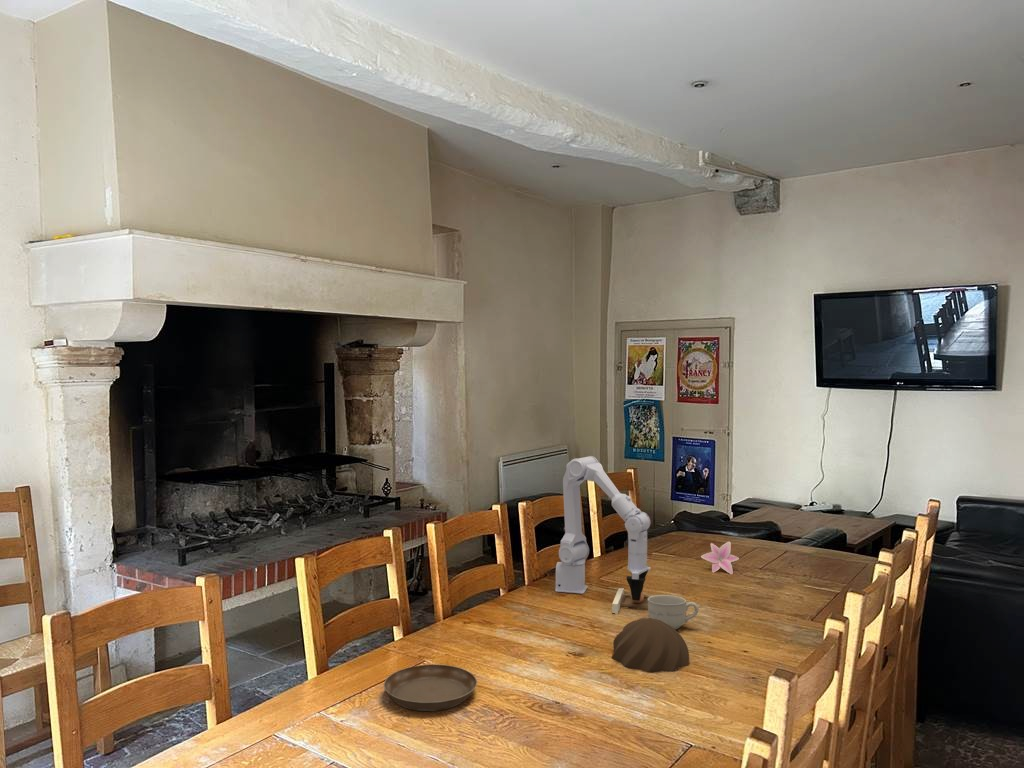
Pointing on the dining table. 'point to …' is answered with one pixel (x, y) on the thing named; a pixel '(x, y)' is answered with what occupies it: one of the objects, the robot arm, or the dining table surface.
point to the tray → (630, 604)
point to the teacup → (670, 609)
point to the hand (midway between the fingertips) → (637, 596)
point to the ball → (639, 600)
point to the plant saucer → (430, 687)
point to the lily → (720, 557)
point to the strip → (617, 600)
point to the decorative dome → (650, 646)
